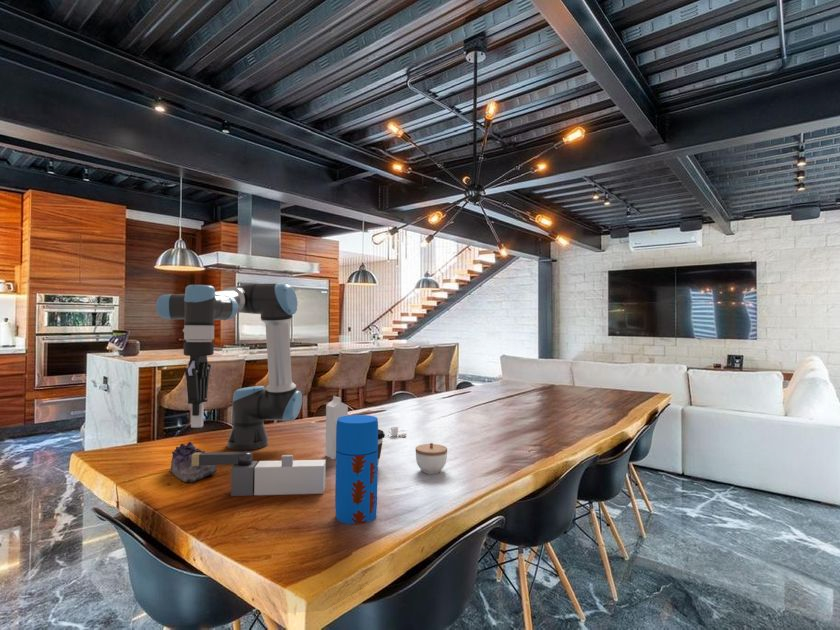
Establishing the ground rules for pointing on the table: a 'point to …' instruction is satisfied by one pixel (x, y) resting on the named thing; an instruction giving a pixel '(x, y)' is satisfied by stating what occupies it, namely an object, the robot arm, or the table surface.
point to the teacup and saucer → (396, 432)
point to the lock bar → (222, 458)
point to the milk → (333, 424)
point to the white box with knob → (279, 477)
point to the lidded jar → (431, 457)
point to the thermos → (356, 468)
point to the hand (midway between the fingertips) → (197, 426)
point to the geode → (189, 464)
